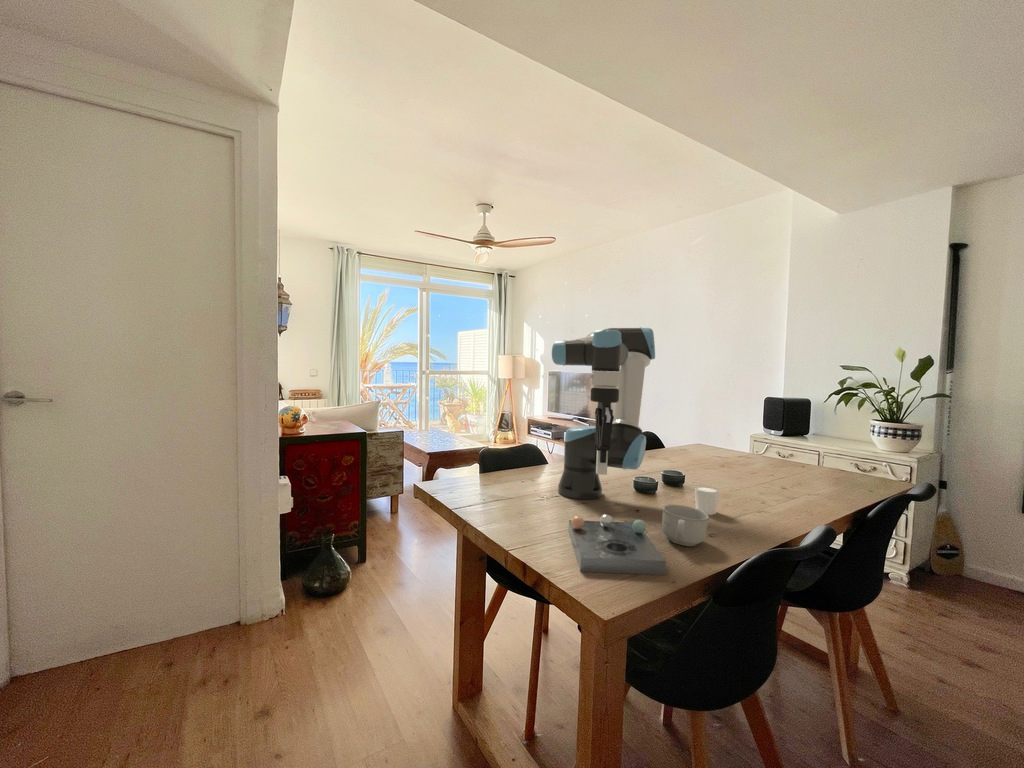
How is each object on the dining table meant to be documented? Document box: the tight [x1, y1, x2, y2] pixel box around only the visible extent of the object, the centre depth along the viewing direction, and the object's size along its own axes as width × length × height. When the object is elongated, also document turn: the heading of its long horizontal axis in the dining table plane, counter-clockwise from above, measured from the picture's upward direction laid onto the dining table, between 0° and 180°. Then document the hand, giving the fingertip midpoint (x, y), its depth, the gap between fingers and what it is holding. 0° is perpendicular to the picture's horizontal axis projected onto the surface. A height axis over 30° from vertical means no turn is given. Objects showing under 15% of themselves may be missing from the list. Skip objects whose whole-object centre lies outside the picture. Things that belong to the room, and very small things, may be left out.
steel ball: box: [599, 513, 614, 528], centre depth 107 cm, size 3×3×3 cm
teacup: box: [661, 504, 710, 547], centre depth 105 cm, size 14×11×8 cm
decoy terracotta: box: [571, 515, 585, 529], centre depth 105 cm, size 3×3×3 cm
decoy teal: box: [632, 519, 647, 533], centre depth 104 cm, size 3×3×3 cm
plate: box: [568, 519, 667, 576], centre depth 100 cm, size 22×18×3 cm
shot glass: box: [694, 486, 720, 516], centre depth 130 cm, size 7×7×7 cm
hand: (601, 473), depth 114 cm, fingers closed
